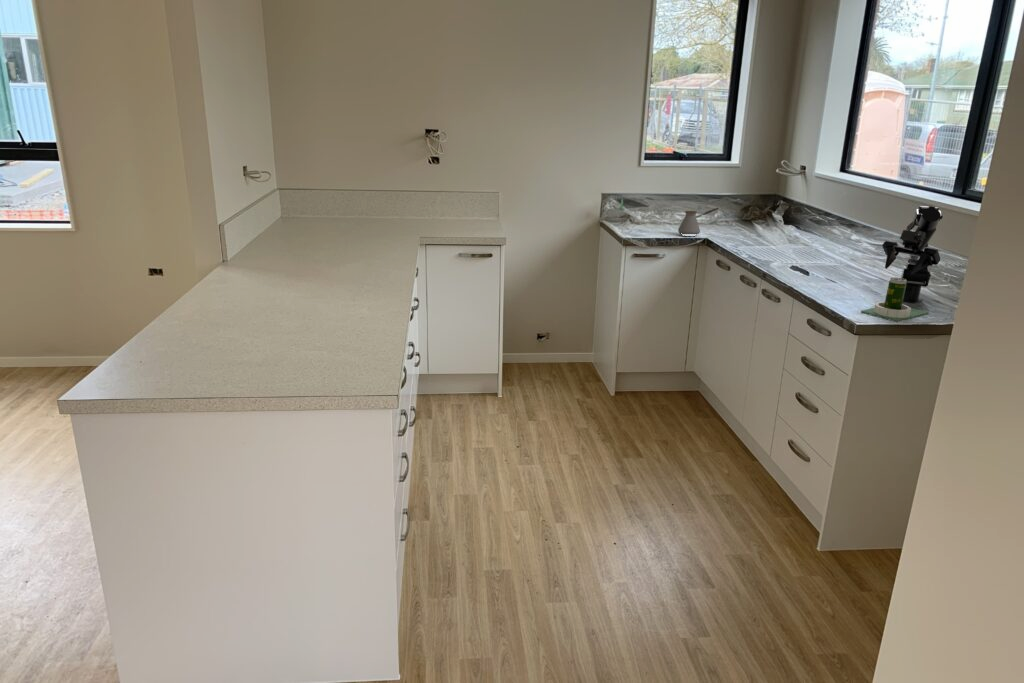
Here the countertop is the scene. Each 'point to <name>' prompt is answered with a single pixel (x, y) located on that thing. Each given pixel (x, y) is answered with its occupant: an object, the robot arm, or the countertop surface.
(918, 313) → the putting mat
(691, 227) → the coffee pot
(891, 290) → the beer can
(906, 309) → the cup
